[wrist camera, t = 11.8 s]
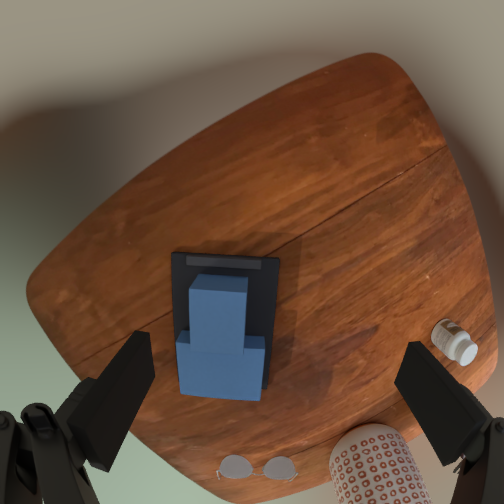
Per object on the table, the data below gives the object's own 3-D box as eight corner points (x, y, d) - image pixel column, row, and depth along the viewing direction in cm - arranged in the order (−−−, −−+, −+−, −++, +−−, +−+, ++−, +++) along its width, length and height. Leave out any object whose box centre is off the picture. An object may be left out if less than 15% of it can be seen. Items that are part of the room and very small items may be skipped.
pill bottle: (455, 319, 33) (484, 342, 25) (443, 344, 34) (469, 369, 26) (438, 315, 32) (468, 339, 25) (425, 342, 33) (452, 369, 26)
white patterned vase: (393, 402, 36) (463, 532, 8) (394, 441, 38) (442, 548, 11) (318, 431, 37) (350, 581, 9) (330, 466, 39) (356, 582, 12)
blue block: (198, 273, 31) (188, 288, 26) (248, 276, 31) (246, 292, 26) (199, 329, 32) (190, 350, 27) (244, 332, 32) (243, 355, 27)
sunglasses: (297, 455, 38) (299, 478, 34) (289, 471, 41) (290, 491, 37) (218, 453, 38) (215, 476, 34) (219, 469, 41) (217, 489, 37)
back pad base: (173, 251, 31) (162, 259, 27) (279, 257, 31) (282, 266, 27) (179, 378, 35) (173, 395, 31) (266, 385, 35) (267, 403, 31)
